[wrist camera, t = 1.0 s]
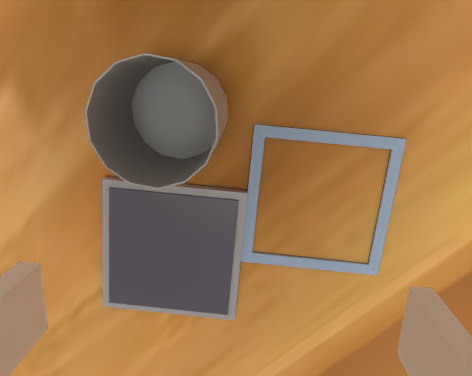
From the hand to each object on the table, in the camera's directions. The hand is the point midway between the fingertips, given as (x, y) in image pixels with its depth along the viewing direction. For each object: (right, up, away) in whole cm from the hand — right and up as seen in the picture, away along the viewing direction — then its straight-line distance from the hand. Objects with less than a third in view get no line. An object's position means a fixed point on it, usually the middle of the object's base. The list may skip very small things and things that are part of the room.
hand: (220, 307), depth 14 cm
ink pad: (-5, -2, +23) cm, 24 cm away
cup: (-4, +11, +20) cm, 23 cm away
